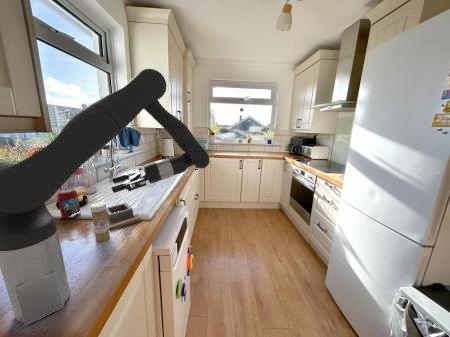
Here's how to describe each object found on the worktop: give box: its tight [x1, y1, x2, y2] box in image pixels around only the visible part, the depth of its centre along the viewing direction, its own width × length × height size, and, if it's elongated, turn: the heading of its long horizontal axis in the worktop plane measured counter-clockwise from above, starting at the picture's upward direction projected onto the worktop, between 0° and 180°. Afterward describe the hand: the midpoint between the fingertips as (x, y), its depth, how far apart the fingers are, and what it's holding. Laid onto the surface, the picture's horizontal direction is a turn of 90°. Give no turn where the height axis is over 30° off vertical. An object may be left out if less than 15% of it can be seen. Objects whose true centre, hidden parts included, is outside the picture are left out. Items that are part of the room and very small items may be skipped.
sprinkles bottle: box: [89, 201, 111, 243], centre depth 67 cm, size 5×5×13 cm
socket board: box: [106, 202, 142, 232], centre depth 83 cm, size 18×12×4 cm, turn 44°
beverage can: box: [56, 188, 81, 219], centre depth 84 cm, size 7×7×12 cm
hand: (112, 185), depth 66 cm, fingers open, 8 cm apart
